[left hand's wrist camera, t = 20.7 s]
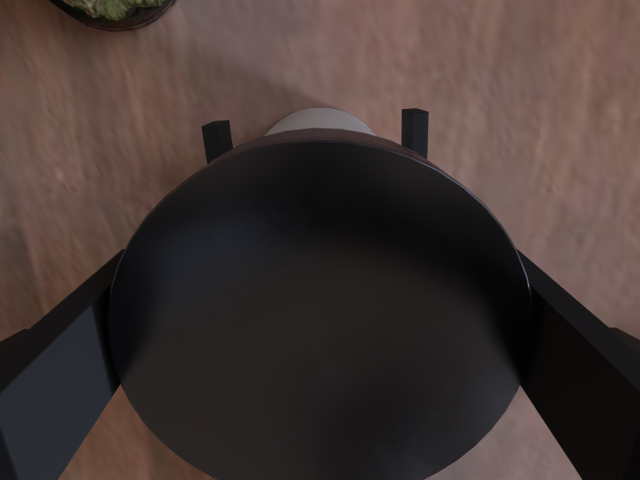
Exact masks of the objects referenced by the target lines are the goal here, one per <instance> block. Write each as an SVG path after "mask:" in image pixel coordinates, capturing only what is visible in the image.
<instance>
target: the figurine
mask: <svg viewBox="0 0 640 480" xmlns="http://www.w3.org/2000/svg"><path fill="white" fill-rule="evenodd" d="M49 1H50V2H51V3H53V4H54V5H56V6H57V7H58V8H60V9H61V10H63V11H64V12H65V13H66V14H68V15H69V16H71V17H73V18H74V19H76V20H78V21H80V22H81V23H83V24H85V25H87V26H90V27H93V28H97V29H101V30H108V31H117V30H129V29H137V28H140V27H143V26H146V25H148V24H150V23H152V22H154V21H156V20H157V19H158V18H160V17H161V16H162V15H164V14H165V13H166V12H167V11H168V10H169V9H170V8H171V7H172V6H173V5H174V4H175V3H176V1H177V0H49Z"/></svg>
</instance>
